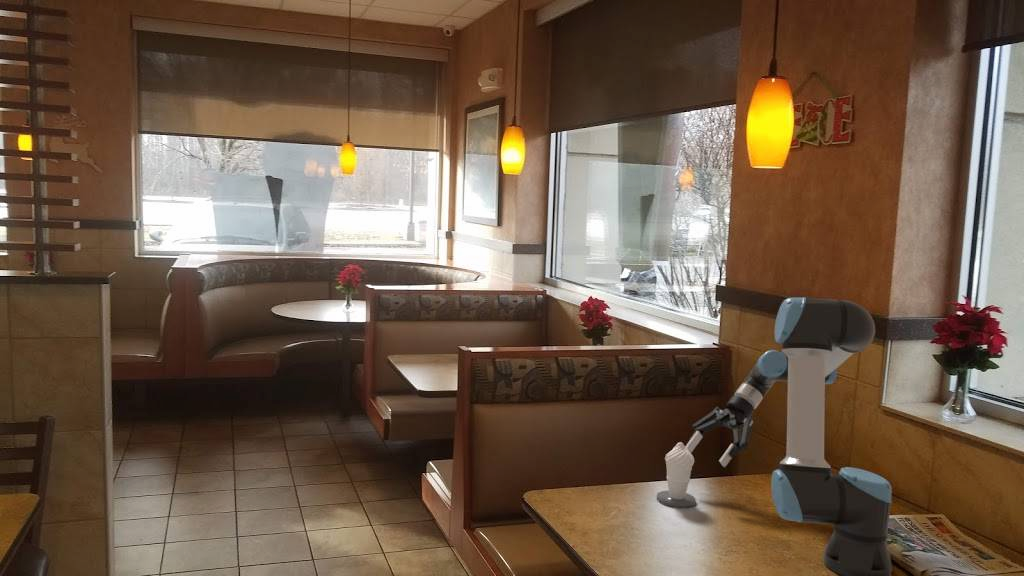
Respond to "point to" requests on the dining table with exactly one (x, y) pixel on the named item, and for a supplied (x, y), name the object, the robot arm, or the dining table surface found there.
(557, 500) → the dining table surface
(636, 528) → the dining table surface
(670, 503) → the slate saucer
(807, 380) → the robot arm
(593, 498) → the dining table surface
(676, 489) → the soft serve ice cream cone
